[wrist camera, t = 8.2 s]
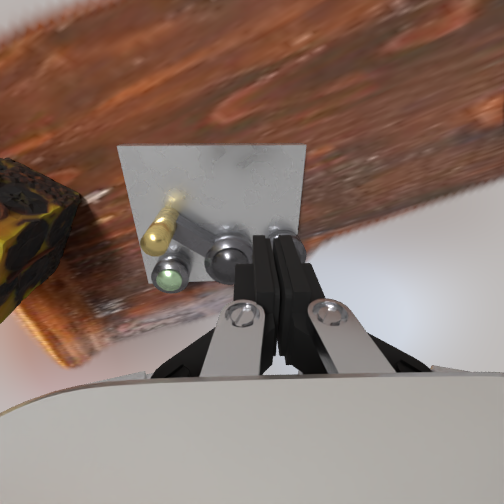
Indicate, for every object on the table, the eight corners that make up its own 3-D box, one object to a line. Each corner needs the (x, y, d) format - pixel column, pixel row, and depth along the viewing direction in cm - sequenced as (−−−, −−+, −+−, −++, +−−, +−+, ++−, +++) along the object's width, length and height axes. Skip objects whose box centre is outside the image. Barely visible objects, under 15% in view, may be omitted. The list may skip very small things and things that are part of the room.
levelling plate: (307, 143, 24) (320, 149, 20) (294, 270, 31) (303, 291, 27) (123, 143, 23) (103, 150, 19) (152, 275, 29) (141, 298, 26)
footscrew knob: (263, 248, 27) (271, 280, 22) (235, 281, 29) (237, 317, 24) (173, 189, 23) (157, 212, 18) (147, 231, 25) (126, 262, 20)
